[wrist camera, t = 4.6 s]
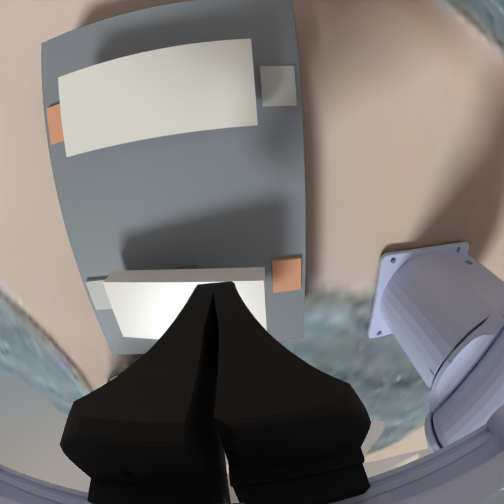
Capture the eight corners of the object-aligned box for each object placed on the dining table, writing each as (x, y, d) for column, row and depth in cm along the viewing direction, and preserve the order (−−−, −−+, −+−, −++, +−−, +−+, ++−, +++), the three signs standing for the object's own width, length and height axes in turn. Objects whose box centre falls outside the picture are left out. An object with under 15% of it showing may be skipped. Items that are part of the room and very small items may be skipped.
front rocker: (248, 45, 10) (250, 38, 9) (254, 124, 12) (257, 125, 11) (70, 79, 10) (58, 77, 9) (78, 153, 11) (66, 157, 10)
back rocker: (264, 267, 14) (263, 280, 13) (268, 326, 16) (267, 341, 15) (112, 270, 15) (102, 282, 14) (130, 323, 16) (123, 336, 15)
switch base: (280, 14, 13) (295, -8, 10) (293, 310, 22) (305, 343, 18) (65, 51, 12) (36, 41, 9) (122, 327, 21) (111, 360, 18)
